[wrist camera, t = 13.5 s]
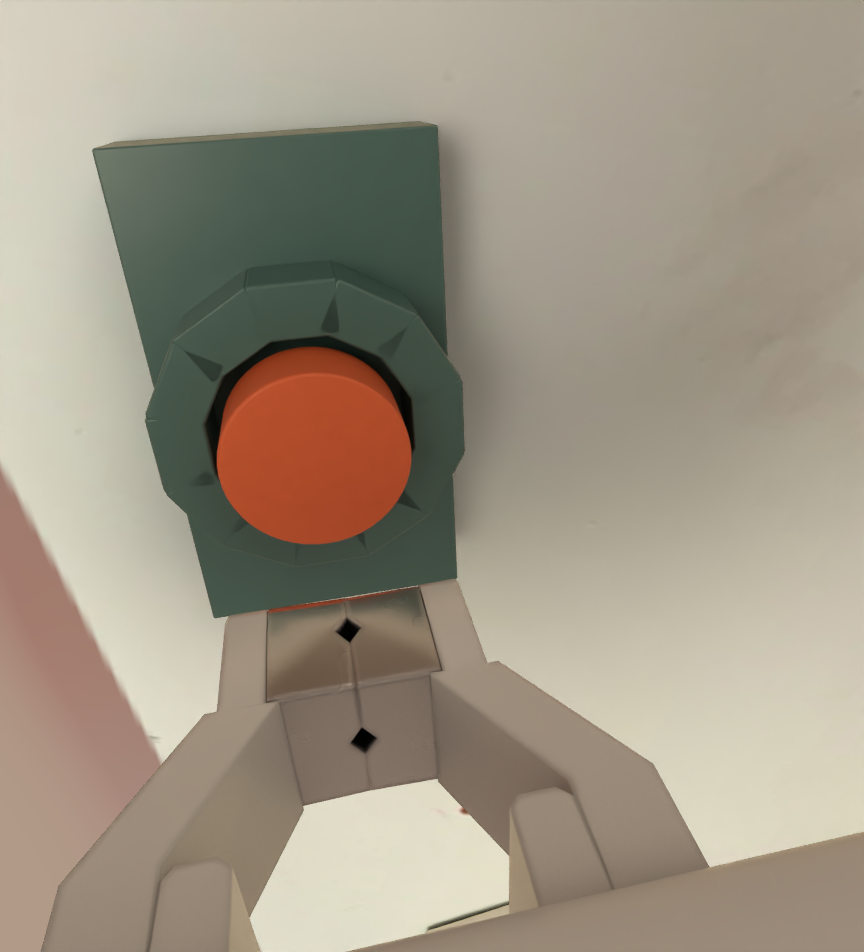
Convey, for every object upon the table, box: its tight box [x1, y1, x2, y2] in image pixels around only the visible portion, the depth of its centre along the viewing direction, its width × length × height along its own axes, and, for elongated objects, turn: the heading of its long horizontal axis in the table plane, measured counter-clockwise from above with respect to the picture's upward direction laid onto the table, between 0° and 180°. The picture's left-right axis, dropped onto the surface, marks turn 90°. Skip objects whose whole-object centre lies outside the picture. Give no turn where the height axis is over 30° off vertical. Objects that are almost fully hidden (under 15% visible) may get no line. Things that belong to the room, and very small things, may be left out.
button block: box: [92, 121, 465, 618], centre depth 18 cm, size 12×7×4 cm, turn 3°
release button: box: [217, 347, 411, 544], centre depth 15 cm, size 4×4×2 cm
